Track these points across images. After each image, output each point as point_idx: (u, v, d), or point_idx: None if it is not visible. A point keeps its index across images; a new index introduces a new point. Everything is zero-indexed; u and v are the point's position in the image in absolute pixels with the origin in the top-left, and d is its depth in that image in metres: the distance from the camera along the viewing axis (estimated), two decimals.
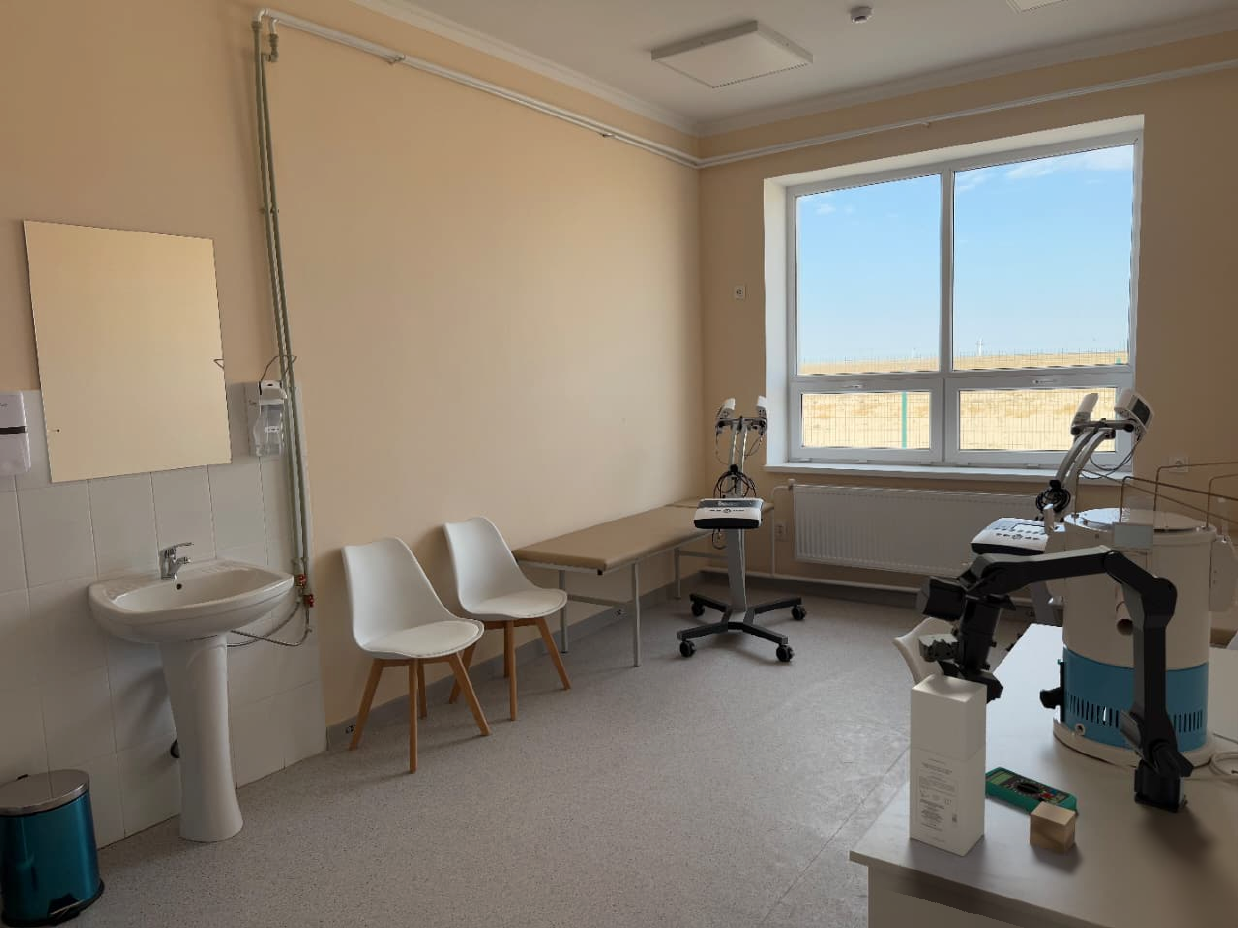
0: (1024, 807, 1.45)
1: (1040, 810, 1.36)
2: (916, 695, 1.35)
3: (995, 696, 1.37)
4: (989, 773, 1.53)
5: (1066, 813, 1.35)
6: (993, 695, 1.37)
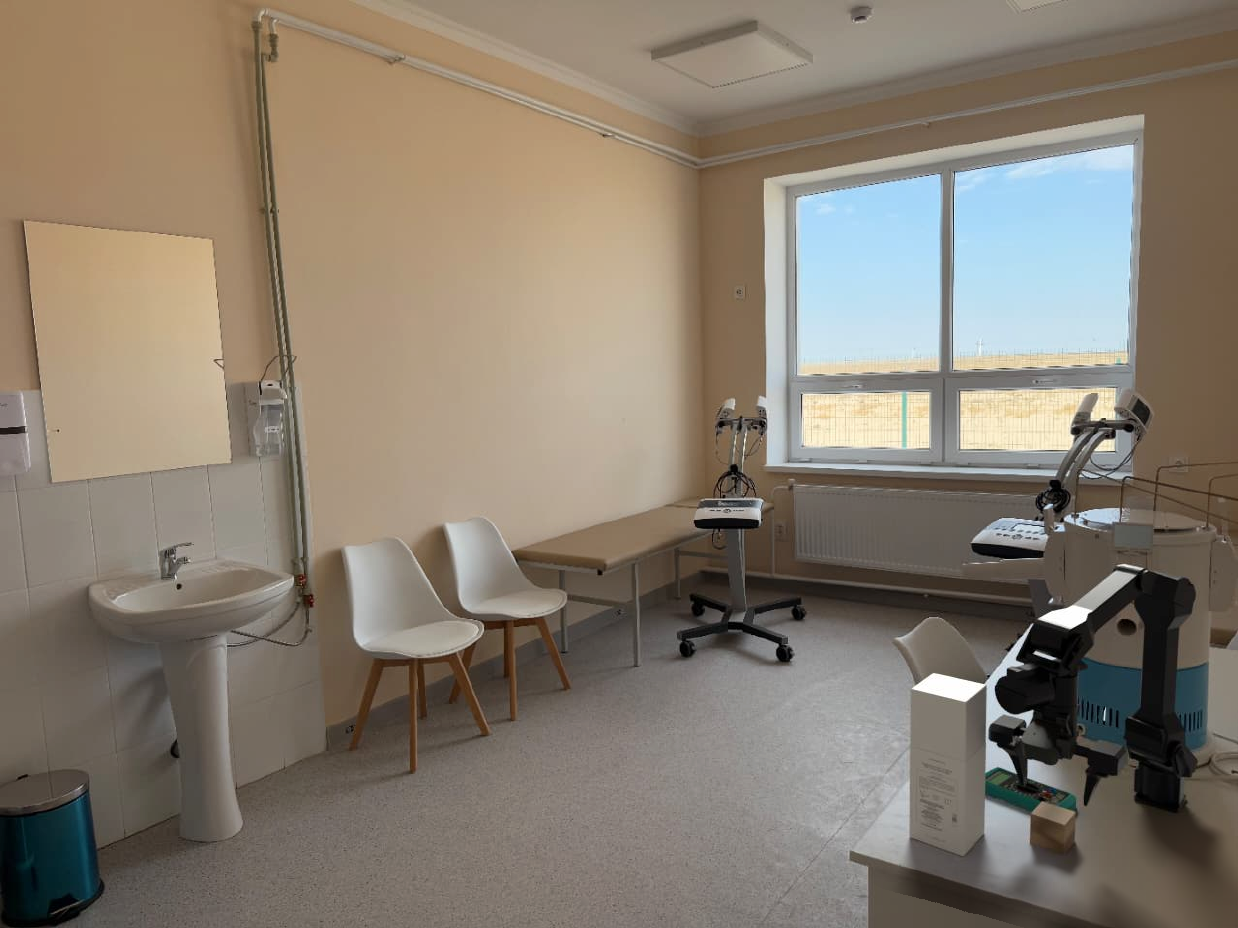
0: (1025, 807, 1.45)
1: (1040, 810, 1.36)
2: (916, 695, 1.35)
3: (1126, 762, 1.29)
4: (988, 773, 1.53)
5: (1066, 813, 1.35)
6: (1126, 763, 1.28)
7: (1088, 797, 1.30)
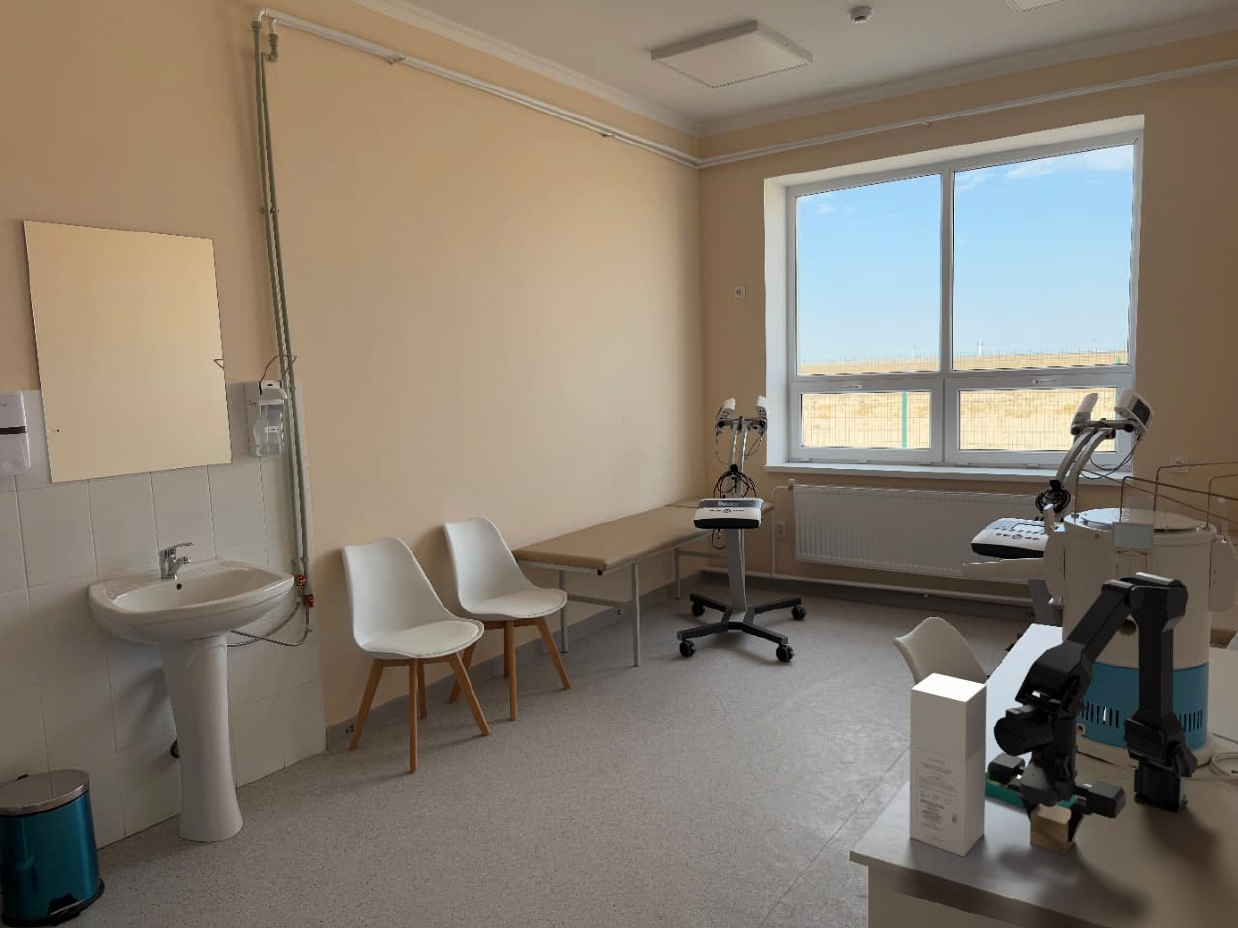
0: None
1: (1040, 809, 1.36)
2: (916, 695, 1.35)
3: (1124, 804, 1.29)
4: None
5: (1066, 812, 1.35)
6: (1124, 804, 1.29)
7: (1073, 833, 1.32)
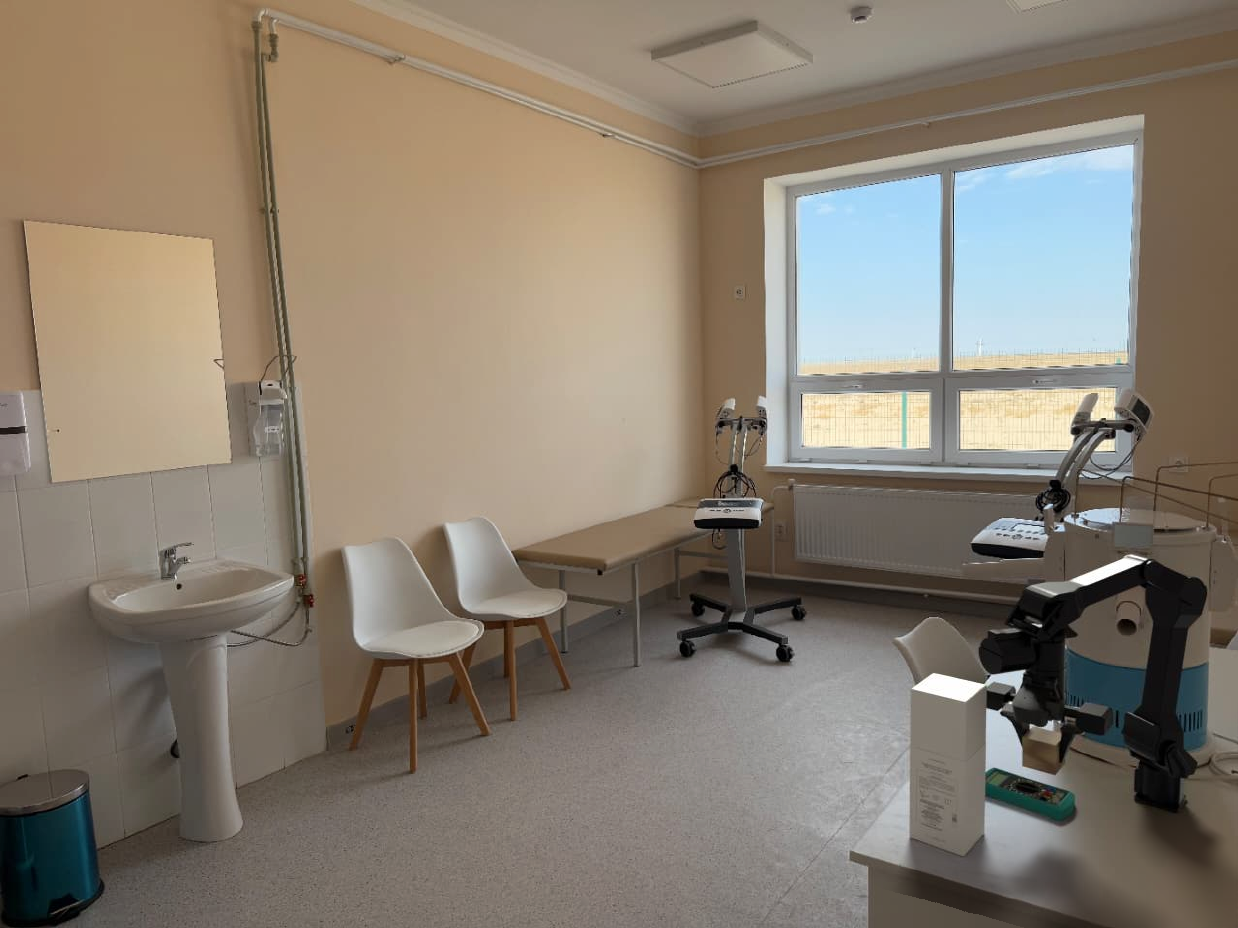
0: (1027, 807, 1.45)
1: (1032, 734, 1.40)
2: (916, 695, 1.35)
3: (1112, 723, 1.34)
4: (986, 775, 1.53)
5: (1056, 735, 1.39)
6: (1111, 723, 1.34)
7: (1063, 754, 1.37)
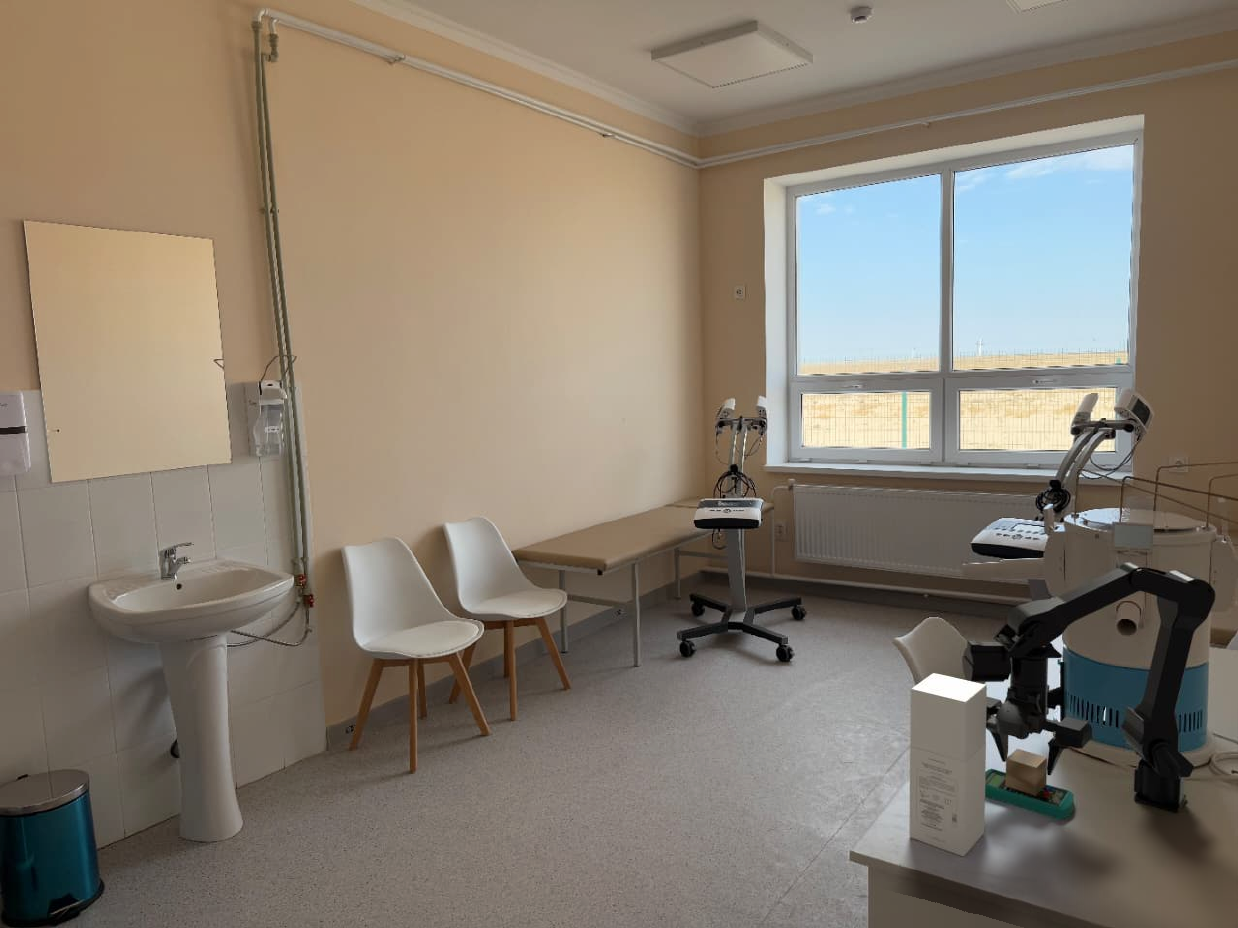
0: (1028, 808, 1.45)
1: (1015, 755, 1.49)
2: (916, 695, 1.35)
3: (1091, 737, 1.42)
4: None
5: (1038, 758, 1.48)
6: (1090, 737, 1.42)
7: (1051, 767, 1.44)
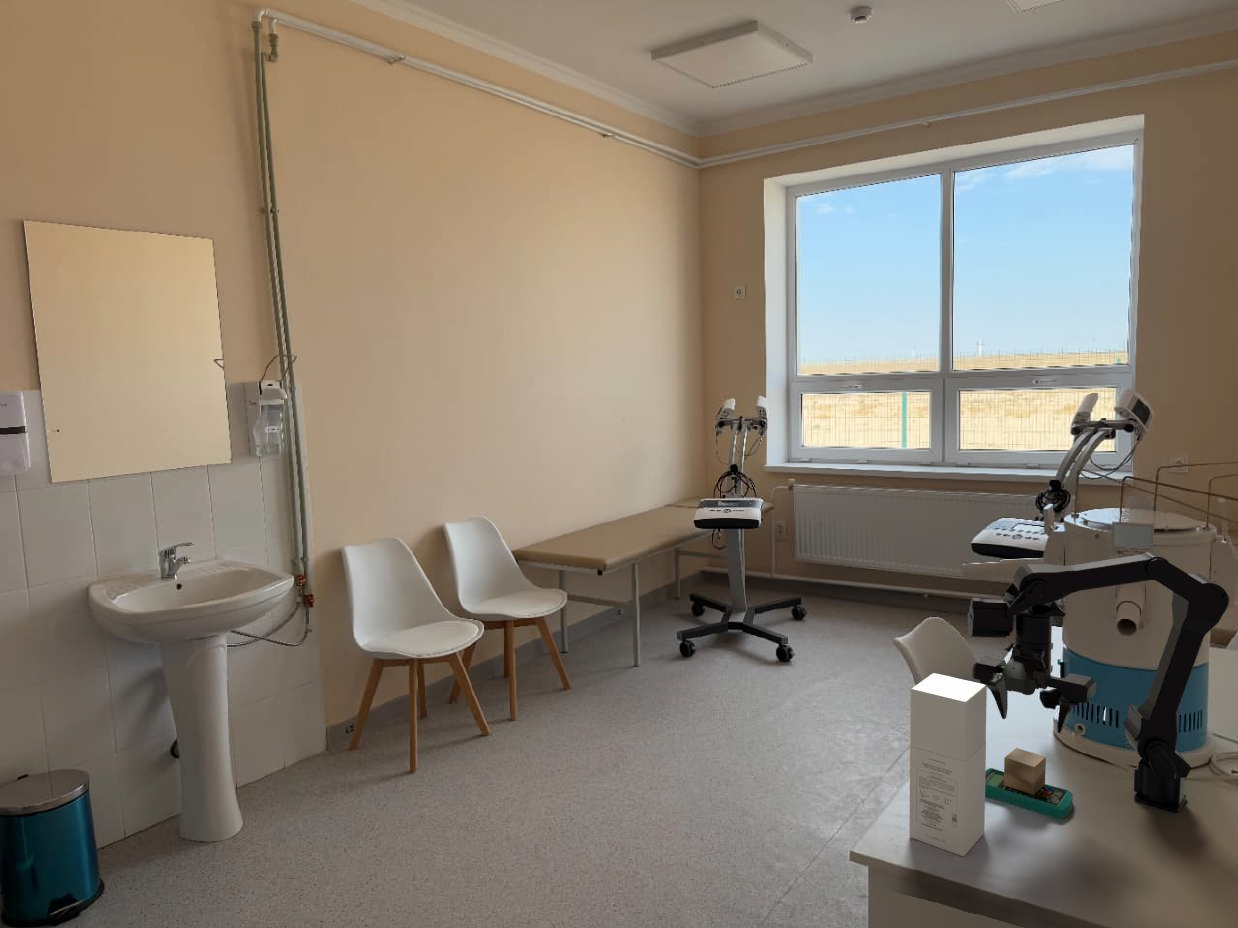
0: (1026, 807, 1.45)
1: (1014, 755, 1.49)
2: (916, 695, 1.35)
3: (1094, 692, 1.44)
4: None
5: (1037, 757, 1.48)
6: (1094, 692, 1.44)
7: (1061, 724, 1.46)
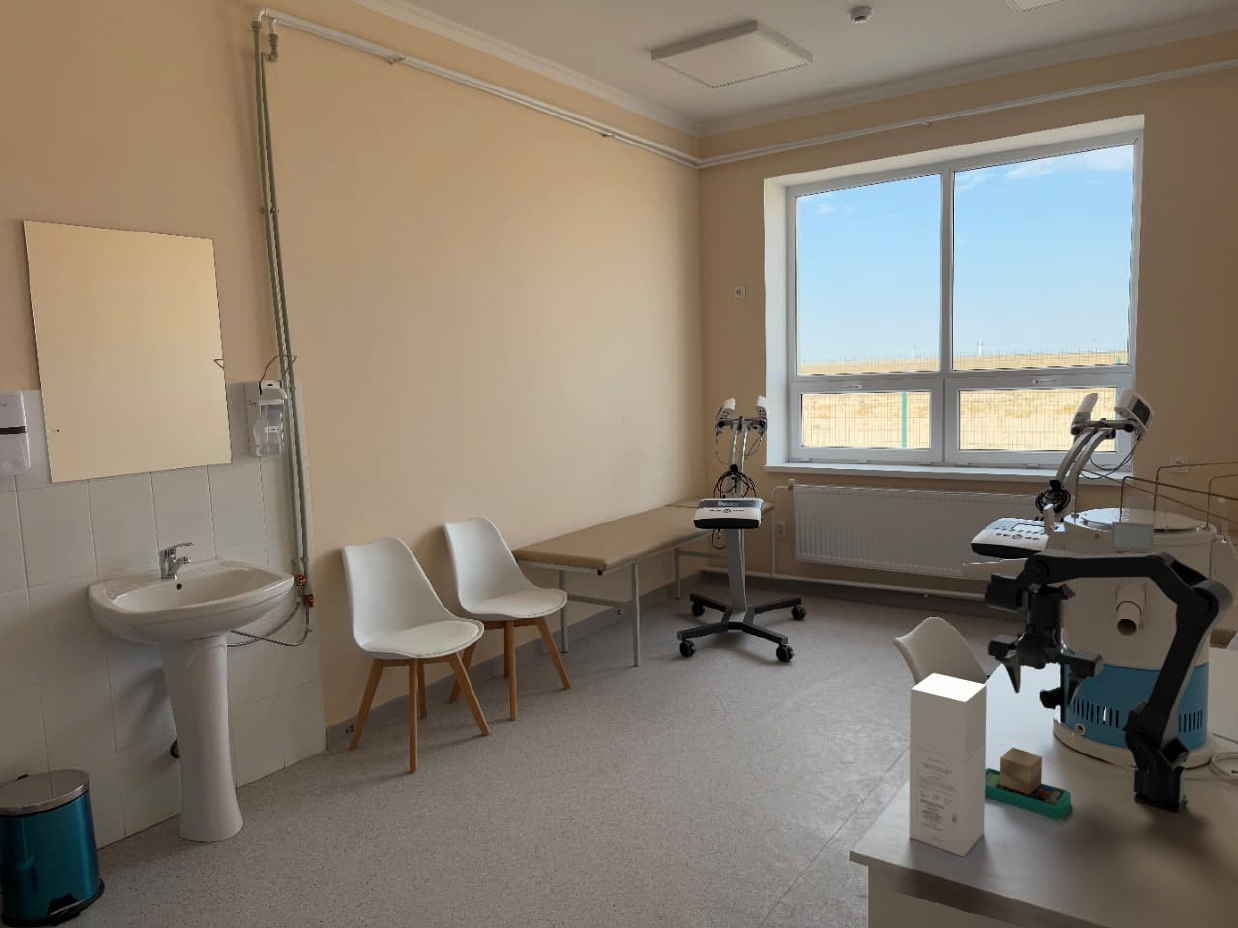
0: (1025, 807, 1.45)
1: (1010, 754, 1.49)
2: (916, 695, 1.35)
3: (1102, 668, 1.55)
4: None
5: (1033, 757, 1.48)
6: (1102, 668, 1.54)
7: (1071, 698, 1.56)
